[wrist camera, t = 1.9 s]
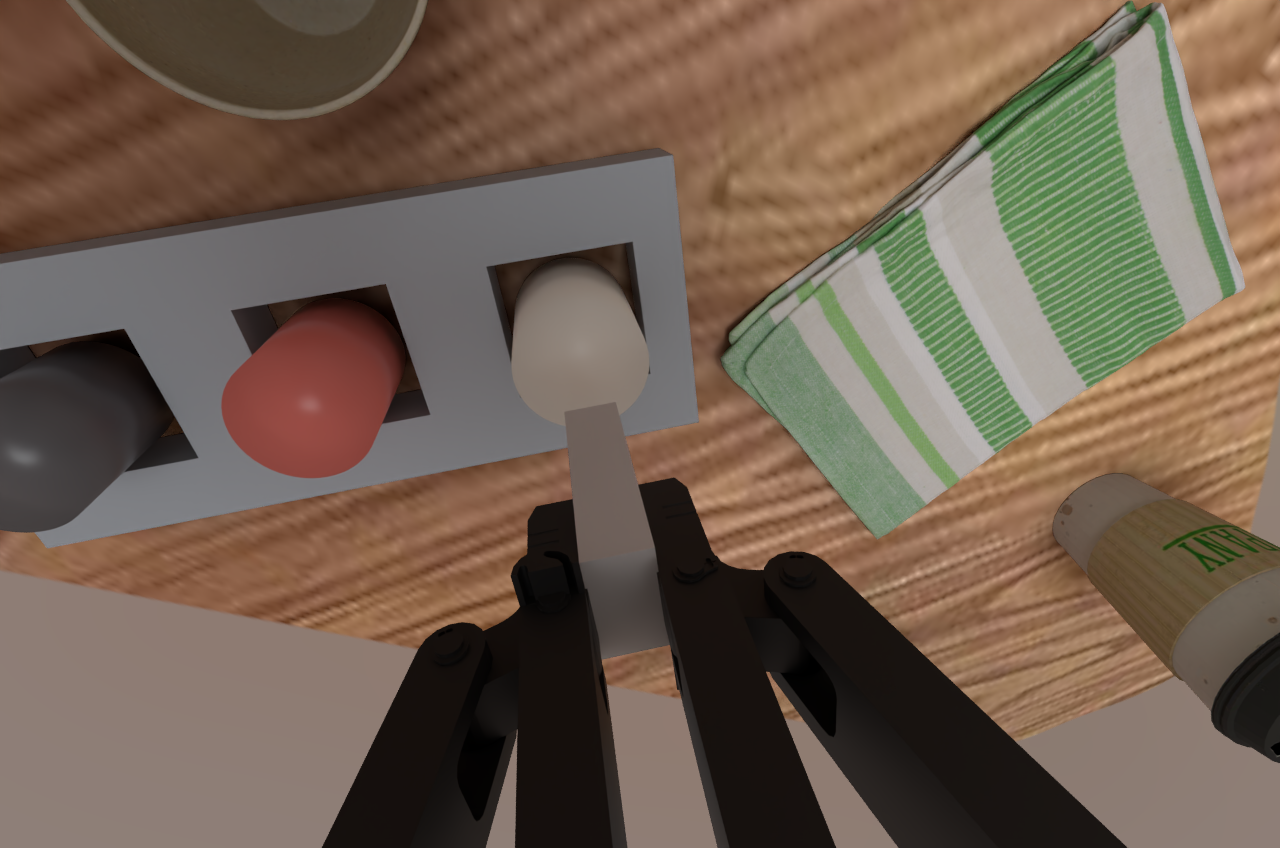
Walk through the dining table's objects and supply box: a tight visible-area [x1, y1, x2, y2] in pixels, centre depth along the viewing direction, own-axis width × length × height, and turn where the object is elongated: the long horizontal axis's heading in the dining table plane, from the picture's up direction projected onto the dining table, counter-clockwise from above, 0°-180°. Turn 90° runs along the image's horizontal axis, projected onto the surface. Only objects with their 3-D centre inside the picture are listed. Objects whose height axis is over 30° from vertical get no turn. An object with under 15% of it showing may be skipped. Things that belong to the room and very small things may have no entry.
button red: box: [221, 298, 406, 478], centre depth 25 cm, size 5×5×6 cm
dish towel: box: [720, 1, 1245, 539], centre depth 32 cm, size 18×23×3 cm
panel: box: [0, 148, 699, 548], centre depth 27 cm, size 12×30×3 cm, turn 98°
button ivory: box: [511, 258, 649, 426], centre depth 25 cm, size 5×5×6 cm
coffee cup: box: [1053, 473, 1280, 763], centre depth 35 cm, size 10×10×15 cm
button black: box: [0, 341, 173, 532], centre depth 24 cm, size 5×5×6 cm
